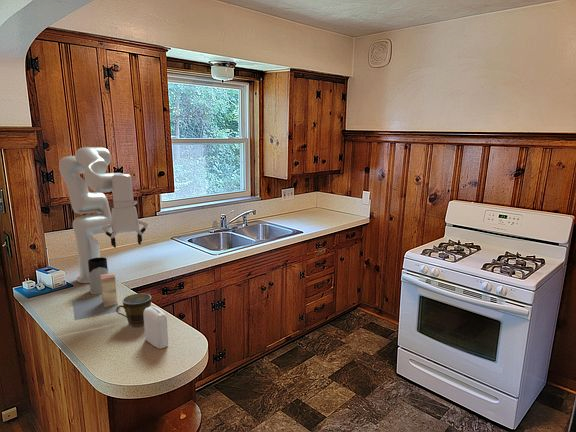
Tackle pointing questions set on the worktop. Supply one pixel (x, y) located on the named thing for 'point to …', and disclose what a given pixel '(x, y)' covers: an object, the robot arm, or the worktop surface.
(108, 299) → the maple block
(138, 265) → the worktop surface
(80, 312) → the rubber mat
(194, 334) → the worktop surface
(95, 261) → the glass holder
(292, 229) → the worktop surface
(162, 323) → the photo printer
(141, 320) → the ceramic cup
